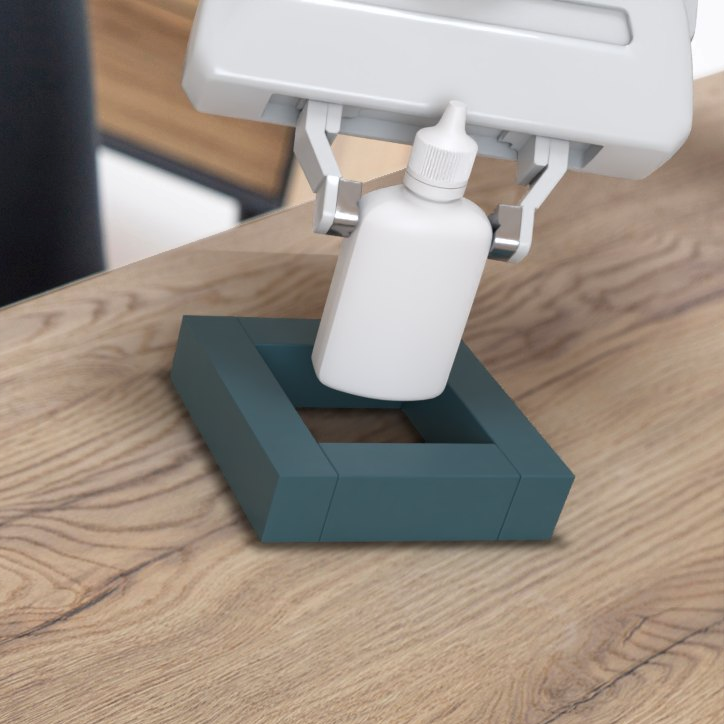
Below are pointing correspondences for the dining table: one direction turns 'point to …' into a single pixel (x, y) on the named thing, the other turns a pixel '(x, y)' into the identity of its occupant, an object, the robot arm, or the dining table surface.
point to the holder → (362, 445)
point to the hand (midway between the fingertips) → (418, 244)
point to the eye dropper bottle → (407, 275)
